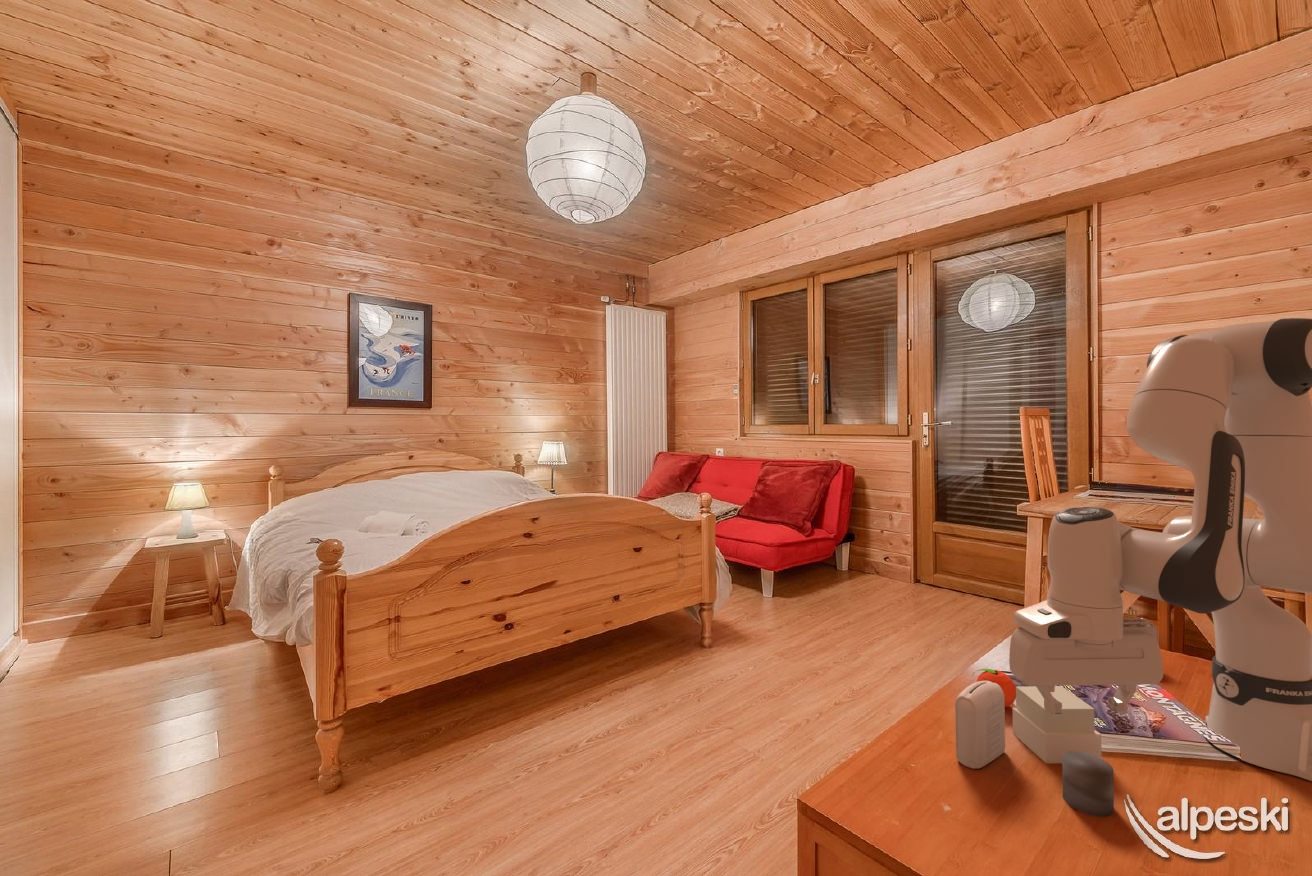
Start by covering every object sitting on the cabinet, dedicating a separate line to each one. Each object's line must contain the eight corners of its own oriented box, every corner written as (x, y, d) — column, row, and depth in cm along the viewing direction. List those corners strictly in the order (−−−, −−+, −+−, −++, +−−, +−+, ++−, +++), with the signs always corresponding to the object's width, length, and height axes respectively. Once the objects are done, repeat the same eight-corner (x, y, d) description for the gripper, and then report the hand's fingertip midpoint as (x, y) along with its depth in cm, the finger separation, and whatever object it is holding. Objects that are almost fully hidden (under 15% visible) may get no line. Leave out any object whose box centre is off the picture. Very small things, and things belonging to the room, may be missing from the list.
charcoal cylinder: (1092, 789, 86) (1092, 750, 86) (1124, 816, 80) (1124, 775, 80) (1053, 789, 86) (1052, 751, 86) (1082, 817, 80) (1082, 776, 80)
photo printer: (983, 740, 100) (982, 671, 99) (1009, 751, 96) (1008, 680, 96) (952, 761, 94) (950, 688, 94) (978, 773, 90) (976, 698, 90)
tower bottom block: (1063, 734, 101) (1063, 706, 101) (1101, 764, 92) (1101, 734, 92) (1012, 734, 102) (1012, 707, 101) (1045, 764, 93) (1045, 735, 92)
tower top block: (1062, 708, 101) (1061, 686, 101) (1094, 732, 93) (1094, 708, 93) (1016, 708, 101) (1015, 686, 101) (1044, 732, 93) (1044, 709, 93)
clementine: (964, 703, 113) (964, 668, 113) (979, 692, 117) (978, 658, 117) (1009, 718, 106) (1008, 681, 106) (1022, 706, 111) (1022, 670, 111)
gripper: (1138, 610, 85) (1138, 700, 85) (1002, 612, 86) (1003, 702, 86) (1175, 625, 79) (1176, 722, 79) (1029, 627, 79) (1030, 724, 80)
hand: (1085, 712), depth 83 cm, fingers open, 8 cm apart
